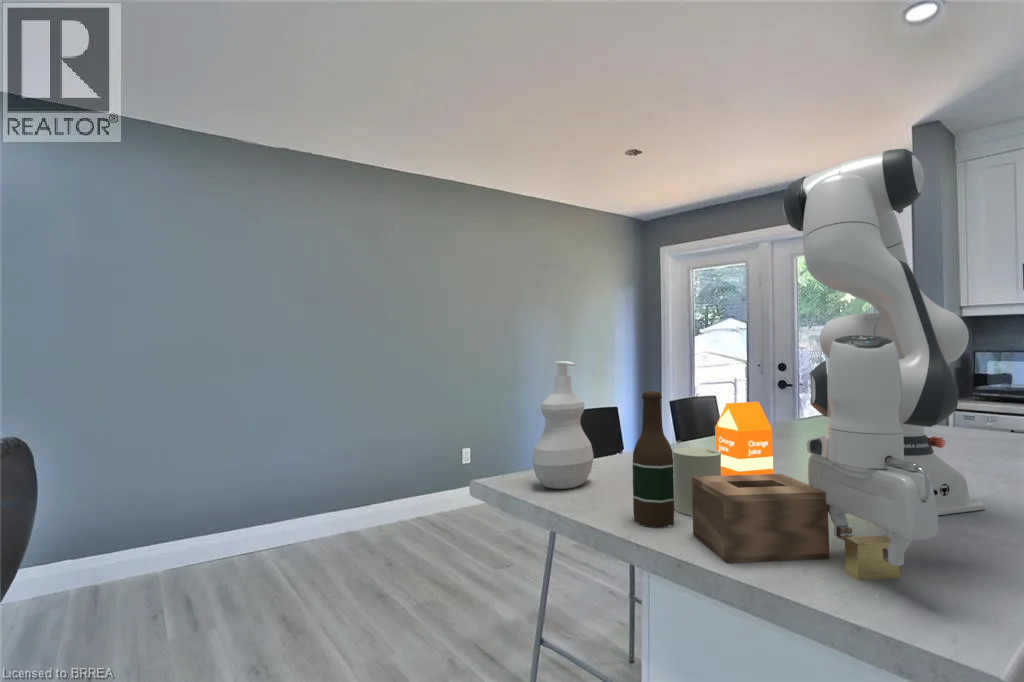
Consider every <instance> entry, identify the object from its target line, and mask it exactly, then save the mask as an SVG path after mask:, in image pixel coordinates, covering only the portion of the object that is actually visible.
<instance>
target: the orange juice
mask: <svg viewBox="0 0 1024 682" xmlns="http://www.w3.org/2000/svg"><path fill="white" fill-rule="evenodd" d="M714 431H715V434H714V435H715V437H714V439H715V450H717V451H720V452H721V476H724V475H756V474H774V457H773V428H772V426H771V423H770V422H769V420H768V418H767V416H766V414H765V412H764V410H763V408H762V406H761V404H760V402H759V401H750V402H749V401H748V402H746V401H745V402H728V403H727V402H726V403H725V405H724V408H723V410H722V412H721V414H720V417H719V419H718V421H717V423H716V425H715V426H714Z"/></svg>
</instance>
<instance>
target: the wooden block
mask: <svg viewBox="0 0 1024 682" xmlns="http://www.w3.org/2000/svg"><path fill="white" fill-rule="evenodd" d="M890 542H891V539H890V538H888V535H887V536H886V535H869V536H865V535H864V536H852V537H845V540H844V565H845V566H844V567H845V569H844V570H845V573H846V574H847V575H849V576H851V577H853V578H854V579H856V580H858V581H865V580H867V581H868V580H869V581H870V580H884V579H885V580H886V579H887V580H890V579H900V578H901V577H900V565H897V566H894V565H892V564H890V563H888V562H886V561H884V560H883V548H888V546H889V544H890Z"/></svg>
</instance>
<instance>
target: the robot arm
mask: <svg viewBox="0 0 1024 682" xmlns="http://www.w3.org/2000/svg"><path fill="white" fill-rule="evenodd" d="M924 181H925V173H924V169H923V166H922V164H921V162H920V161H919V159H918V158H917V157H916V156H915V154H914V153H913V152H912V151H910V150H909V149H908V148H907V149H906V148H896V149H895V148H894V149H888V150H884V151H883V152H882V153H877V154H873V155H868V156H867V155H866V156H862V157H858V158H854V159H851V160H848V161H844V162H842V163H841V164H838V165H835V166H832V167H829V168H826V169H824V170H821V171H818V172H816V173H814V174H812V175H808V176H802V177H800V178H798V179H795V180H794V181H792V182H790V183H789V184H788V185H787V187H786V189H785V191H784V192H783V196H782V197H783V198H782V211H783V214H784V217H785V219H786V221H787V223H788V224H789V226H790V227H791V228H792V229H795V230H796V231H799V232H802V246H803V249H802V250H803V255H804V262H805V266H806V269H807V272H808V273H809V274H810V275H811V276H812V277H813V279H814V280H816V281H817V282H818V283H820V284H822V285H823V286H825V287H827V288H830V289H831V290H834V291H837V292H841V293H846V294H849V295H851V296H853V297H854V298H856V299H859V300H862V301H864V302H866V303H868V304H870V305H871V306H873V308H875V310H876V311H877V312H868V313H867V312H866V313H852V314H849V315H848V314H847V315H844V316H840V317H836V318H832V319H830V320H828V321H827V322H826V323H825V325H824V326H823V327H822V329H821V332H820V334H819V344H820V345H819V346H820V348H821V350H822V353H823V354H824V355H825V357H826V358H828V359H827V360H823V361H822V362H821V363H819V364H817V366H815V367H814V368H813V369H812V370H811V371H810V372H809V375H810V383H811V384H810V387H811V388H810V391H811V393H810V405H811V406H812V407H813V408H814V409H815V410H816V411H818V413H819V414H821V415H822V416H824V417H826V418H829V420H828V423H827V431H828V432H827V434H824V435H820V436H816V437H812V438H809V439H807V441H806V450H807V452H808V453H809V454H810V455H809V458H808V460H807V462H808V463H807V464H808V465H807V466H808V467H807V474H808V475H807V476H808V484H809V486H811V487H814V488H817V489H819V490H822V491H824V492H826V503H827V504H828V515H829V517H830V519H831V522H832V524H833V525H834V526H833V529H834V530H833V531H834V536H835V537H836V538H837V539H840V540H842V541H845V537H853V528H852V527H851V526H850V525H849V522H848V518H847V515H846V514H849V515H852V516H854V517H856V518H858V519H861V520H862V521H866V522H867V523H870V524H873V525H875V526H877V527H880V528H882V529H885V530H887V537H888V538H890V539H891V542H890V544H889V546H888V548H883V560H884V561H886V562H888V563H890V564H892V565H894V566H897V565H899V566H903V565H904V563H905V552H906V550H907V549H908V548H909V546H910V544H911V543H912V540H915V541H917V540H921V541H923V540H933V539H935V537H936V536H937V535H938V534H939V531H940V527H939V526H940V525H939V516H941V515H943V516H944V515H949V514H950V515H951V514H958V513H966V512H967V513H969V512H976V511H983V510H986V505H985V503H983V501H980V500H978V499H975V498H974V497H970V494H969V488H968V484H967V483H968V482H967V480H966V478H965V476H964V475H963V474H962V473H961V472H960V471H958V470H957V469H955V468H954V467H953V466H951V465H950V464H948V463H947V462H945V461H944V460H943V459H941V458H940V457H938V456H937V455H936V454H934V449H933V447H936V448H940V449H942V448H945V446H946V440H945V439H944V438H943V437H937V436H931V437H928V436H927V435H926V434H925V428H926V427H927V428H928V427H929V428H931V427H934V426H936V425H938V424H941V423H942V422H943V421H945V420H946V419H947V418H949V417H950V416H952V414H953V413H954V412H956V410H957V408H958V404H959V391H958V386H957V383H956V381H955V380H956V379H955V377H954V375H953V372H952V370H951V368H950V366H949V365H948V363H951V362H955V361H957V360H958V359H959V358H960V357H961V356H962V355H963V354H964V352H966V349H967V347H968V343H969V338H970V337H969V329H968V327H967V325H966V323H965V322H964V321H963V320H962V319H961V317H960V316H958V315H957V314H956V313H954V312H952V311H950V310H948V309H945V308H943V307H942V306H940V305H938V304H937V303H936V302H934V301H933V300H931V299H930V298H929V297H928V296H927V295H926V294H925V293H924V292H923V290H921V289H920V287H919V284H918V282H917V279H916V277H915V275H914V273H913V271H912V269H911V267H910V266H909V262H908V259H907V255H906V250H905V245H904V240H903V235H902V231H901V228H900V224H899V221H898V218H897V215H896V213H898V214H902V213H903V212H904V209H906V208H908V207H909V206H912V205H913V204H914V203H915V202H916V200H918V198H919V197H920V196H921V193H922V188H923V185H924Z"/></svg>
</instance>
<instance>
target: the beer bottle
mask: <svg viewBox="0 0 1024 682" xmlns="http://www.w3.org/2000/svg"><path fill="white" fill-rule="evenodd" d="M641 398H642V399H643V406H642V407H643V408H642V425H641V426H642V428H641V434H640V435H639V438H638V439H637V441H636V442H635V445H634V449H633V451H632V497H633V498H632V499H633V500H632V501H633V502H632V503H633V504H632V505H633V506H632V507H633V510H632V512H633V521H634V522H635V523H636V522H638V523H637V524H639V523H640V524H639V525H641V524H642V525H641V526H644V525H645V526H644V527H648V526H655V527H654V528H660V527H662V528H665V527H664V526H666V527H670V526H669V525H671V526H673V525H674V523H675V521H674V520H675V509H674V460H673V449H672V447H671V444H670V441H669V440H668V439H667V437H666V436H665V434H664V427H663V420H662V407H661V405H662V404H661V399H662V398H663V396H662V393H661V391H655V390H653V391H652V390H650V391H649V390H647V391H643V392H642V396H641Z"/></svg>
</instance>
